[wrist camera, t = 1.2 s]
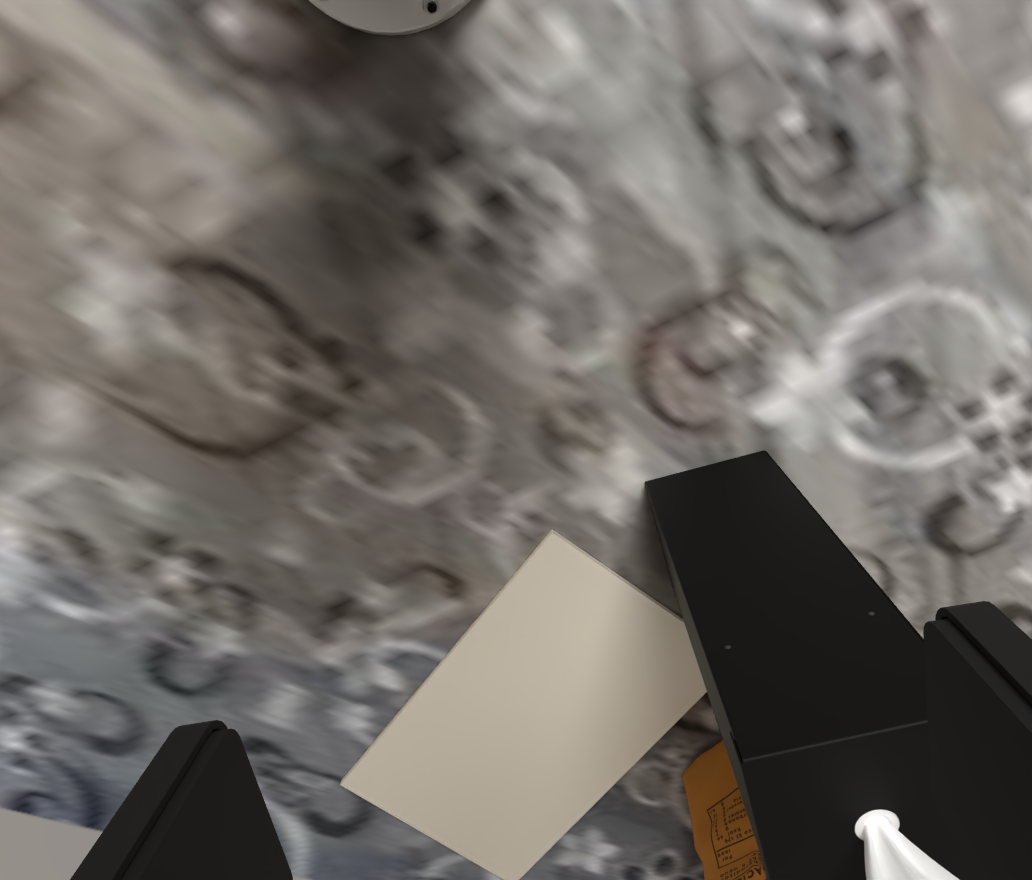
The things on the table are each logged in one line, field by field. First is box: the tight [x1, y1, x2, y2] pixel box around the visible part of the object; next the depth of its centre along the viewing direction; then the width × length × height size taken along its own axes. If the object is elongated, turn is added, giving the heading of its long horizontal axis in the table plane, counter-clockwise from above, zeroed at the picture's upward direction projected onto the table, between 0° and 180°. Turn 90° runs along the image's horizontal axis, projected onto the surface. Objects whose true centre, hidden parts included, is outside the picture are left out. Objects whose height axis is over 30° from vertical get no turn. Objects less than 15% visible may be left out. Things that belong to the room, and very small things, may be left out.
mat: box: [340, 529, 707, 880], centre depth 54 cm, size 26×16×1 cm, turn 144°
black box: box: [645, 451, 980, 880], centre depth 36 cm, size 8×8×28 cm
